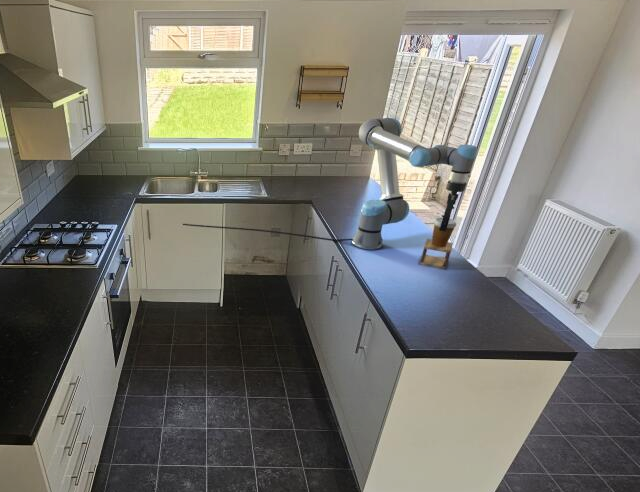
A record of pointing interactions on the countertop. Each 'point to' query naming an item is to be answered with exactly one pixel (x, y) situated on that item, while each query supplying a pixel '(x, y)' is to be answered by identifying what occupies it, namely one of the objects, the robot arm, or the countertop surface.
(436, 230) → the disposable coffee cup
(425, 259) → the oak rack
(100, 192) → the countertop surface
